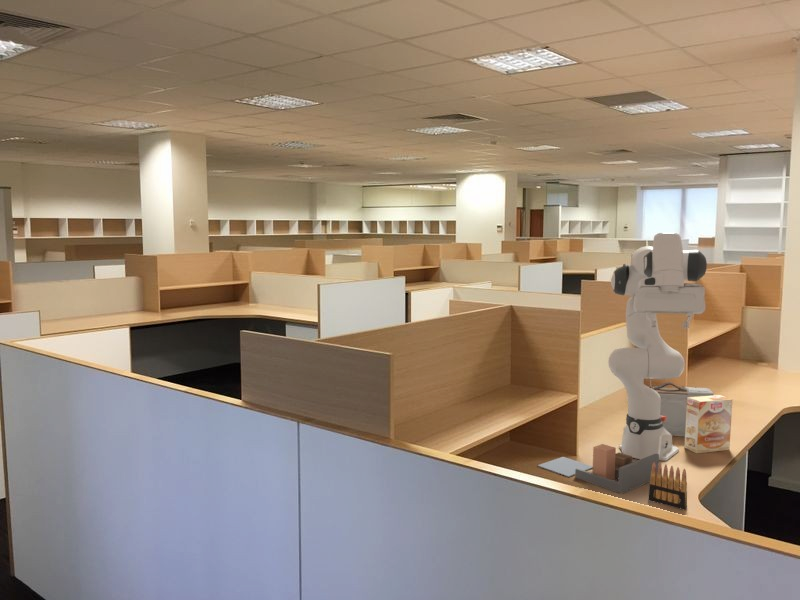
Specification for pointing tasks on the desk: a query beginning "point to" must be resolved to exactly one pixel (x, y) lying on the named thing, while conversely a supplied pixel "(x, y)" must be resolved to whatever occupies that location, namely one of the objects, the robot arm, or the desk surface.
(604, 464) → the terracotta block
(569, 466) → the slate mat
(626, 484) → the lane rack
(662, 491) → the ammunition clip
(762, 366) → the desk surface
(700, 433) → the coffeecake box
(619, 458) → the walnut block
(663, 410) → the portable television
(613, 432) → the desk surface
